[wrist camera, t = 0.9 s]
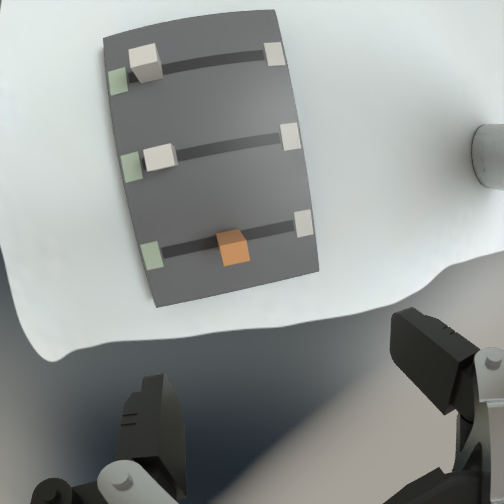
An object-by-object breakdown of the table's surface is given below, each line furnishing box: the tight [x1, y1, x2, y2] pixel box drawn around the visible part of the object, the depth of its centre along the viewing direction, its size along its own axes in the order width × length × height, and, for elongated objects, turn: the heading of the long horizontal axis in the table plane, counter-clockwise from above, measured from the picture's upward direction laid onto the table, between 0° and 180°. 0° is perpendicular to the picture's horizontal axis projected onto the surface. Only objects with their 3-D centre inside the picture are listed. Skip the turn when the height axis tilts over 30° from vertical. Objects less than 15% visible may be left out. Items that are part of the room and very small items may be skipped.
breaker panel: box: [103, 10, 319, 308], centre depth 25 cm, size 16×26×7 cm, turn 10°
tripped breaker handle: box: [216, 229, 250, 266], centre depth 26 cm, size 2×2×4 cm
